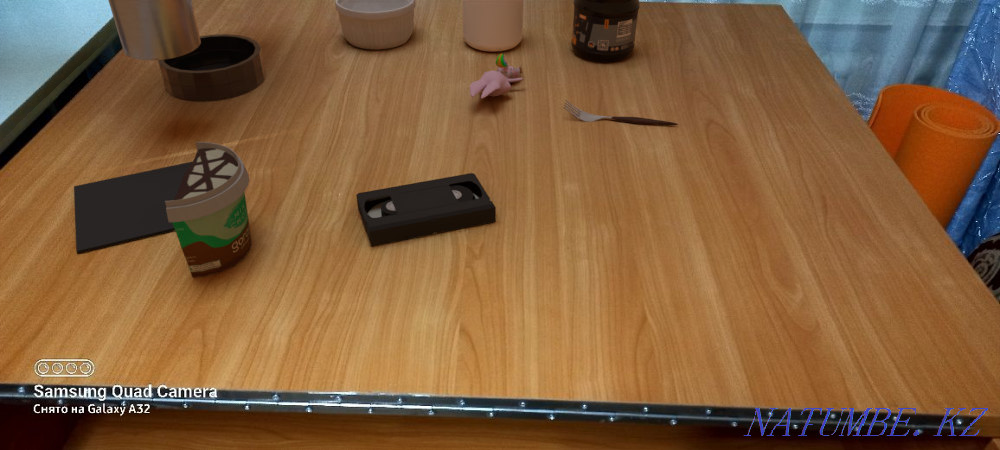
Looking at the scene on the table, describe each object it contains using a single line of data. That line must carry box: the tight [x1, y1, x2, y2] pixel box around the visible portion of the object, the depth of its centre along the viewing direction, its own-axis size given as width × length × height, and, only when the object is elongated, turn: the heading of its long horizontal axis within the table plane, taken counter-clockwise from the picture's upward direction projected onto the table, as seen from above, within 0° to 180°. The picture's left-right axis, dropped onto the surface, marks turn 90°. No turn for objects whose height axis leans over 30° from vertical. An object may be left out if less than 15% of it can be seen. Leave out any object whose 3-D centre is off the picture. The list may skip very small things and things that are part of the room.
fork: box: [562, 99, 679, 126], centre depth 104 cm, size 3×16×2 cm, turn 78°
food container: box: [165, 141, 253, 278], centre depth 77 cm, size 12×6×10 cm, turn 5°
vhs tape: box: [356, 172, 497, 247], centre depth 84 cm, size 14×8×2 cm, turn 110°
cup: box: [462, 0, 524, 53], centre depth 124 cm, size 10×10×10 cm
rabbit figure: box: [469, 53, 524, 99], centre depth 109 cm, size 6×6×15 cm
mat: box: [73, 161, 193, 255], centre depth 86 cm, size 14×14×1 cm
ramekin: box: [334, 0, 416, 51], centre depth 126 cm, size 13×13×7 cm
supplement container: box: [570, 0, 641, 63], centre depth 120 cm, size 10×10×12 cm
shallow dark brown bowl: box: [157, 33, 267, 103], centre depth 111 cm, size 14×14×5 cm
